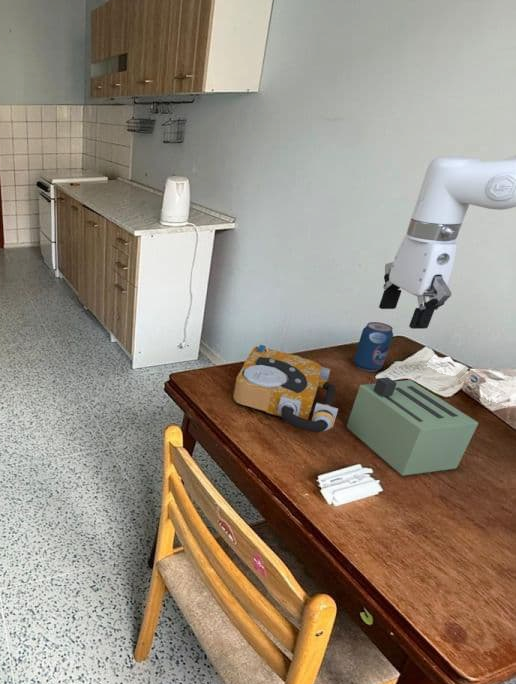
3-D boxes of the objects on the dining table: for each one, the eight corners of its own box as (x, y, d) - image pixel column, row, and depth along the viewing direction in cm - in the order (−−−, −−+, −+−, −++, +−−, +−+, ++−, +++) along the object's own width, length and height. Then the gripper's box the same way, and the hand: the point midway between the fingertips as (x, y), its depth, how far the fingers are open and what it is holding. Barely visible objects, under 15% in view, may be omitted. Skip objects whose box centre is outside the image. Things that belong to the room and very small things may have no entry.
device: (350, 357, 116) (336, 418, 94) (341, 386, 120) (326, 450, 98) (255, 337, 127) (223, 387, 105) (250, 364, 131) (218, 418, 109)
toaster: (394, 421, 106) (410, 379, 101) (456, 468, 92) (479, 422, 87) (346, 427, 105) (360, 384, 100) (402, 475, 91) (421, 429, 86)
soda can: (375, 375, 125) (388, 334, 119) (347, 365, 129) (360, 325, 124) (385, 367, 128) (399, 326, 123) (359, 358, 133) (371, 318, 127)
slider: (383, 389, 97) (388, 377, 96) (392, 395, 95) (397, 382, 94) (373, 390, 97) (377, 378, 96) (381, 396, 95) (386, 384, 94)
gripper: (491, 242, 78) (452, 336, 86) (421, 220, 93) (393, 301, 101) (445, 243, 78) (410, 336, 86) (383, 220, 93) (358, 302, 101)
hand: (401, 317), depth 93 cm, fingers open, 9 cm apart
